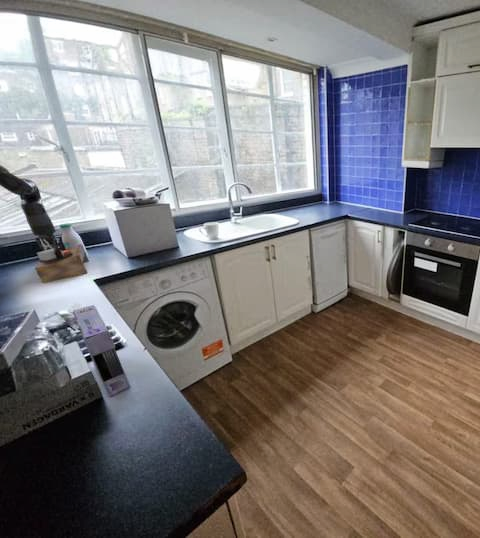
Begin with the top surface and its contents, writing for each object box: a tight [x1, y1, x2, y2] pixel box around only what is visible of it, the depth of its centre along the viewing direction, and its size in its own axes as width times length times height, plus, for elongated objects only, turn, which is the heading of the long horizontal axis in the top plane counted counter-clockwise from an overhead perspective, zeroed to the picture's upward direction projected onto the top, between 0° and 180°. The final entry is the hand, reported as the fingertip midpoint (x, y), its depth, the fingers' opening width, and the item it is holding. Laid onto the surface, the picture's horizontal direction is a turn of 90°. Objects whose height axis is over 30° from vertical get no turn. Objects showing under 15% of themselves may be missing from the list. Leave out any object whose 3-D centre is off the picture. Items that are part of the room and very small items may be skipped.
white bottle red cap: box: [36, 249, 73, 263], centre depth 141 cm, size 11×5×5 cm, turn 164°
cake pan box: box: [72, 304, 131, 398], centre depth 74 cm, size 19×5×18 cm, turn 48°
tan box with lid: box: [34, 244, 90, 284], centre depth 147 cm, size 16×24×10 cm, turn 39°
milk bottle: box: [59, 222, 90, 258], centre depth 161 cm, size 8×8×20 cm
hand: (56, 258), depth 142 cm, fingers closed on white bottle red cap, 4 cm apart
